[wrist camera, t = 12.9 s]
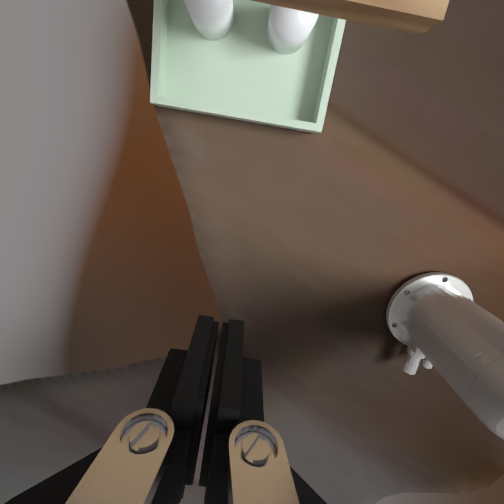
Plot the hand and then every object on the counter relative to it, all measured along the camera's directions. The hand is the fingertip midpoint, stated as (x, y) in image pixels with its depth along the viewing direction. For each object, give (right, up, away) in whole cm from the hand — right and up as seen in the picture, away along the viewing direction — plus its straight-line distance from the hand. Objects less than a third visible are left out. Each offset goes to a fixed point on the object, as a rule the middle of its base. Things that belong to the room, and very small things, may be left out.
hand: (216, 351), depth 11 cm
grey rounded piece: (+5, +28, +21) cm, 35 cm away
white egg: (-3, +29, +20) cm, 35 cm away
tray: (+1, +27, +22) cm, 35 cm away
